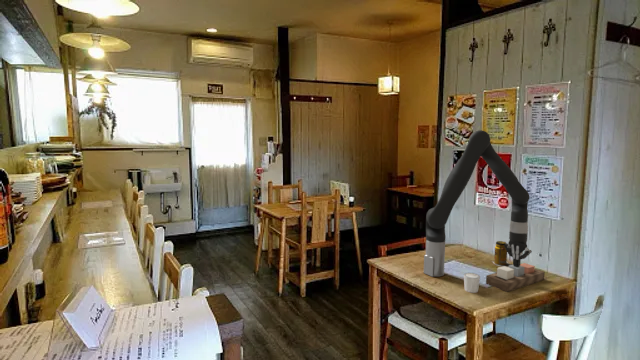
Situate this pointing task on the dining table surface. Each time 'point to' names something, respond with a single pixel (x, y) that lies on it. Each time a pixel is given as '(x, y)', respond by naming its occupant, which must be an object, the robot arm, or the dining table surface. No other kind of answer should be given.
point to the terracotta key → (527, 268)
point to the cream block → (505, 272)
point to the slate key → (517, 270)
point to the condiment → (500, 254)
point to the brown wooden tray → (514, 280)
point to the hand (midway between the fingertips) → (516, 266)
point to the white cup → (471, 282)
